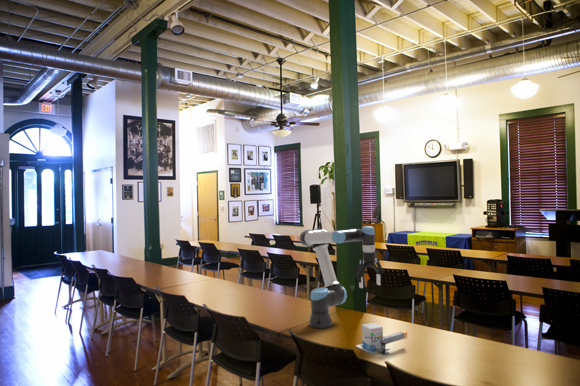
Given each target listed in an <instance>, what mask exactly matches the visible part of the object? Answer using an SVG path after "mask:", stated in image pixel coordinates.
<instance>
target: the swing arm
mask: <svg viewBox="0 0 580 386" xmlns="http://www.w3.org/2000/svg"><path fill="white" fill-rule="evenodd" d="M407 339H408V332H407V331H406V330H401V331H399V332H395V333H392V334H390V335H389V334H388V335H385V336H383V337H381V338H380V344H381V345H388V344H391V343H395V342H397V341H400V340H407Z"/></svg>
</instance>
